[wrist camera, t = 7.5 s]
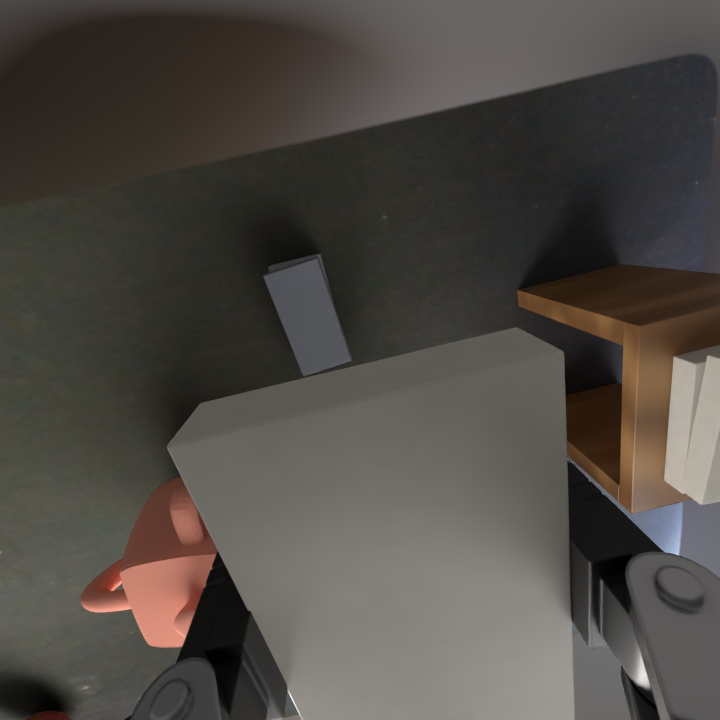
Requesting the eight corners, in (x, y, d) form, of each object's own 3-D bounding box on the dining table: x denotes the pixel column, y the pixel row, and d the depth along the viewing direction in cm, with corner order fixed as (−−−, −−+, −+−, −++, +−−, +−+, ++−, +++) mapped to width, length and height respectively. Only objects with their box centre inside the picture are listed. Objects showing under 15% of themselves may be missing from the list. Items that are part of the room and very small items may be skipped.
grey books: (269, 265, 31) (260, 269, 27) (325, 251, 31) (324, 253, 27) (299, 362, 34) (296, 378, 30) (350, 349, 34) (353, 364, 30)
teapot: (135, 515, 38) (41, 650, 26) (213, 410, 35) (149, 507, 22) (266, 578, 43) (240, 719, 30) (347, 490, 39) (355, 608, 27)
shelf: (516, 289, 33) (639, 325, 20) (620, 264, 33) (812, 282, 20) (527, 417, 38) (631, 514, 25) (617, 395, 38) (771, 480, 25)
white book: (199, 401, 6) (163, 446, 5) (517, 325, 6) (565, 351, 5) (330, 701, 9) (329, 776, 8) (542, 653, 9) (575, 721, 8)
